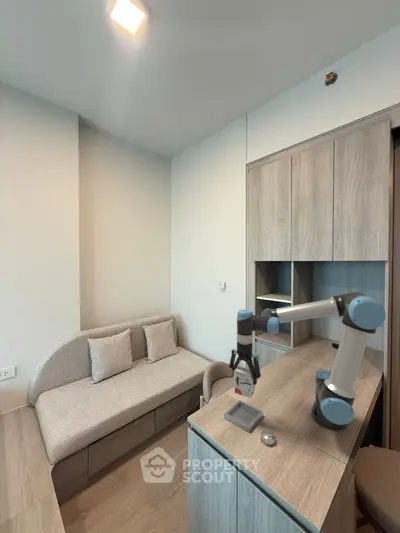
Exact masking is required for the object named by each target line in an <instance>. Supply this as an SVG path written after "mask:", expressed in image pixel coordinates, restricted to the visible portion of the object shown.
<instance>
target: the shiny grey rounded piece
mask: <svg viewBox="0 0 400 533" xmlns="http://www.w3.org/2000/svg"><path fill="white" fill-rule="evenodd" d="M260 442H261V443H262V444H263V445H264V446H266V447H273V446H275V444H276V435H275V433H274V432H273V431H271V430H269V429H263V430H262V431H260Z"/></svg>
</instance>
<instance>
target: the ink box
mask: <svg viewBox="0 0 400 533" xmlns="http://www.w3.org/2000/svg"><path fill="white" fill-rule="evenodd" d="M251 378H252V374H251V372H250V369H249V367H248V368H247V367H244V366H239V365H238V367H237V368H236V369H235V384H234V393H235V394H237V395H240V396H243V397H246V398H249V399H251V398H252V397H253V396H254V394H255V390H254V391H253V392H252V391H251Z"/></svg>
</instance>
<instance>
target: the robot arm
mask: <svg viewBox="0 0 400 533" xmlns="http://www.w3.org/2000/svg"><path fill="white" fill-rule="evenodd" d="M331 316H336V317H337V318H339V317H342V320H341V324H342V326H343V328H344V329H343V332H342V335H341V338H340V342H339V345H338V349H337V352H336V355H335V358H334V362H333V365H332V369H331V370H330V369H319V370H316V372H315V376H314V377H315V398H314V399H315V400H314V402H313V404H312V406H311V413H310V414H311V418H312V420H314V422H316V424H319V425H320V426H322V427H324V428H325V429H328V430H331V431H332V430H333V431H342V430H345V429H347V426H348V424H350V423H352V422H353V420H354V419H355V410H354V408H353V406H354V401H355V400H356V396H357V395H356V392H355V391H354V385H355V383H356V379H357V376H358V374H359V370H360V367H361V363H362V360H363V357H364V354H365V350H366V348H367V344H368V341H369V338H370V336H372V335H375V334H376V332H377V329H378V328H380V327H381V326H382V325H383V324H384V322H385V321H386V316H387V315H386V311H385V308H384V307H383V305H382V304H381V303H380V302H379V301H378V300H377V299H375V298H373V297H371V296H369V295H367V294H365V293H363V292H362V293H361V292H358V291H357V292H349V293H342V294H338V295H334V296H330V298H329V299H323V300H317V301H312V302H307V303H306V302H305V303H301V304H296V305H295V304H294V305H290V306H289V305H288V306H284V307H278V308H273V309H271V308H265V309H264V310H263V311H262V312H261V313H260V315H257V314H255V315H254V312H253V311H252V310H251V309H245V308H244V309H239V310H238V311H237V315H236V348H233V349H232V350H230V351H231V357H230V360H229V365H228V368H229V369H231V370H232V376H233V385H235V369H236V368H237V367H238V366H239V365H240V363H241V361H243V362H245V363H246V365H247V366H248V369H250V372H251V374H252V378H251V391H252V392H253V391H254V392H255V390H256V385H257V384H258V380H259V379H260V378H261V376H262V375H261V368H260V364H259V355H254V354H253V338H254V337H253V335H254V334H253V332H257V333H265V334H271V335H272V334H275V335H276V334H278V333H279V331H280V324H282V323H283V324H284V323H291V322H296V321H297V322H298V321H303V320H310V319H317V318H323V317H331ZM236 357H237V358H236Z"/></svg>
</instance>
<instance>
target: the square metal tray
mask: <svg viewBox="0 0 400 533" xmlns="http://www.w3.org/2000/svg"><path fill="white" fill-rule="evenodd" d="M223 416H224V420H226V421H228V422H229V423H231V424H233V425H235V426H237V427H238V428H240V429H242V430H243V431H245V432H247V433H249V434H250V433H251V432H252V431H253V430H254V429H255V428H256V426H257V425H258V423H259V422H261V420H262V419H263V417H264V411H263V410H261V409H259V408H257V407H254V406H253V405H250V404H249V403H246V402H244V401H242V400H240V399H238V400H237V401H236V402H235V403H234V404H233V405H232V406H230V408H229V409H228V410H227V411H225V412H224V414H223Z"/></svg>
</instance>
